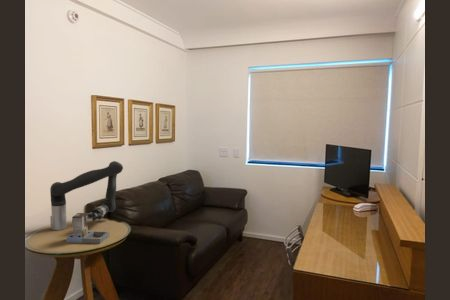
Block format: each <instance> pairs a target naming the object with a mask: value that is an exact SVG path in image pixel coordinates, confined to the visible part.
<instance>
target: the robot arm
mask: <svg viewBox="0 0 450 300" xmlns="http://www.w3.org/2000/svg"><path fill="white" fill-rule="evenodd" d="M123 170H124V167H123V164H122V163H120V162H118V161H116V160H113V161H111V162H110V163H109V164H108V166H106V167H103V168H99V169H93V170H89V171H86V172H83V173H81V174H79V175H77V176H75V177H74V178H73V179H71V180H67V181H63V182H60V181H56V182H54V183H52V184H51V185H50V188H49V189H50V190H49V191H50V193H49V194H50V203H51V215H50V217H49V218H50V230H53V231H60V230H65V229H66V228H67V227H68V226H67V225H68V223H67V200H66V194H68V193H70V192H71V191H72V192H73V191H74V190H77V189H80V188H83V187H86V186H89V185H91V184H94V183H96V182H98V181H101V180H103V179H106V178H107V187H106V192H105V199H106V200H108V201H103V202H102V203H101V205H99V206H97V207H95V208H94V209H92V210H91V211H90V212H89V213H87V220H89V219H92V221H93V222H94V221H96V220H101V219H103V218H104V216H105V215H106V214H107V213H108V212H110V213H111V212H114V211H115V210H116V208H117V206H116V193H117V177H118V176H117V175H118V174H120V173H122V171H123Z"/></svg>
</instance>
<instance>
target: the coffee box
mask: <svg viewBox="0 0 450 300" xmlns="http://www.w3.org/2000/svg"><path fill="white" fill-rule="evenodd" d="M87 214H88V213H87V212H78V213H76V214H75V215H73V216H72V218H71V220H72V221H71V222H72V234H73V236H77V238H83V237H84V236H86V235H87V234H88V231H89V229H88V228H89V227H88V219H87Z"/></svg>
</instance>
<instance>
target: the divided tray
mask: <svg viewBox="0 0 450 300" xmlns="http://www.w3.org/2000/svg"><path fill="white" fill-rule="evenodd" d="M98 237H99V238H98ZM109 237H110V231H101V230H99V231H94V230H88V234H87V235H86V236H84V237H83V238H77V236H73V233H72V234H70V235H68V236H67V237H66V243H76V244H102V243H103V242H104V241H105V240H107V239H108V238H109Z"/></svg>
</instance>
